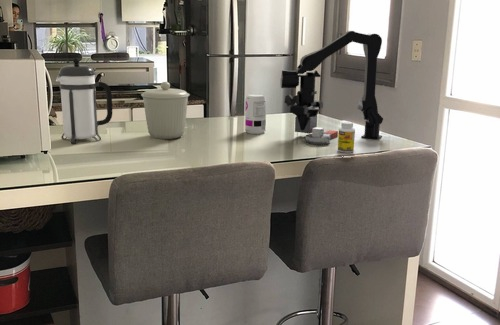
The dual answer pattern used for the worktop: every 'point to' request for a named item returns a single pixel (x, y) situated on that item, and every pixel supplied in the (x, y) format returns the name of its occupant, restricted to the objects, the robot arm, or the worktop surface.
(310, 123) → the brushed grey cube
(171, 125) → the canister
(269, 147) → the worktop surface
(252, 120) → the supplement can
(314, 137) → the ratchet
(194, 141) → the worktop surface
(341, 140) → the supplement bottle
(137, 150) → the worktop surface
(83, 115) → the coffee press
